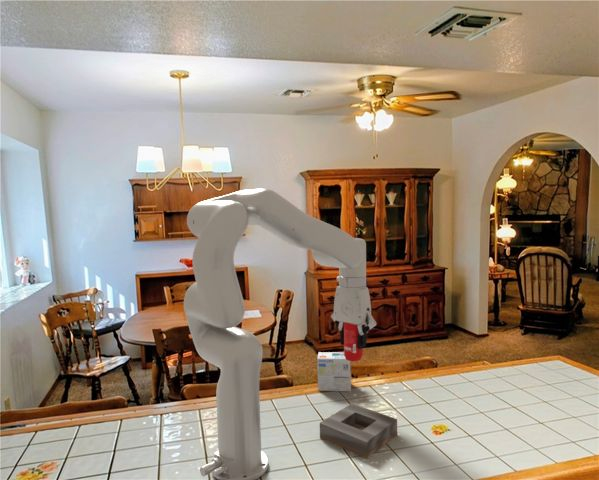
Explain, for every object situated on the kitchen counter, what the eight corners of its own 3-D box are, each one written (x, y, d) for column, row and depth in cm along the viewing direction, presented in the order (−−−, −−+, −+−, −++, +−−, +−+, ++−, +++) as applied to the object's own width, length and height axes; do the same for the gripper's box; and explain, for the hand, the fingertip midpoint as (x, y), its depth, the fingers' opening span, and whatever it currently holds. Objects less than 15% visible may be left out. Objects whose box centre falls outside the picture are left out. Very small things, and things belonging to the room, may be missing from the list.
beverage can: (340, 357, 123) (340, 316, 122) (356, 354, 125) (355, 314, 124) (350, 363, 118) (349, 320, 117) (366, 360, 120) (365, 318, 120)
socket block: (366, 458, 99) (366, 442, 99) (319, 438, 108) (319, 422, 108) (397, 434, 109) (397, 419, 109) (352, 417, 119) (351, 403, 118)
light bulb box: (350, 383, 142) (350, 351, 141) (351, 392, 135) (350, 358, 134) (318, 382, 143) (318, 351, 142) (317, 391, 136) (316, 358, 135)
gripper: (320, 281, 123) (321, 343, 124) (371, 287, 112) (371, 355, 113) (336, 277, 129) (336, 337, 130) (386, 283, 117) (386, 348, 118)
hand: (353, 345), depth 121 cm, fingers closed on beverage can, 5 cm apart
